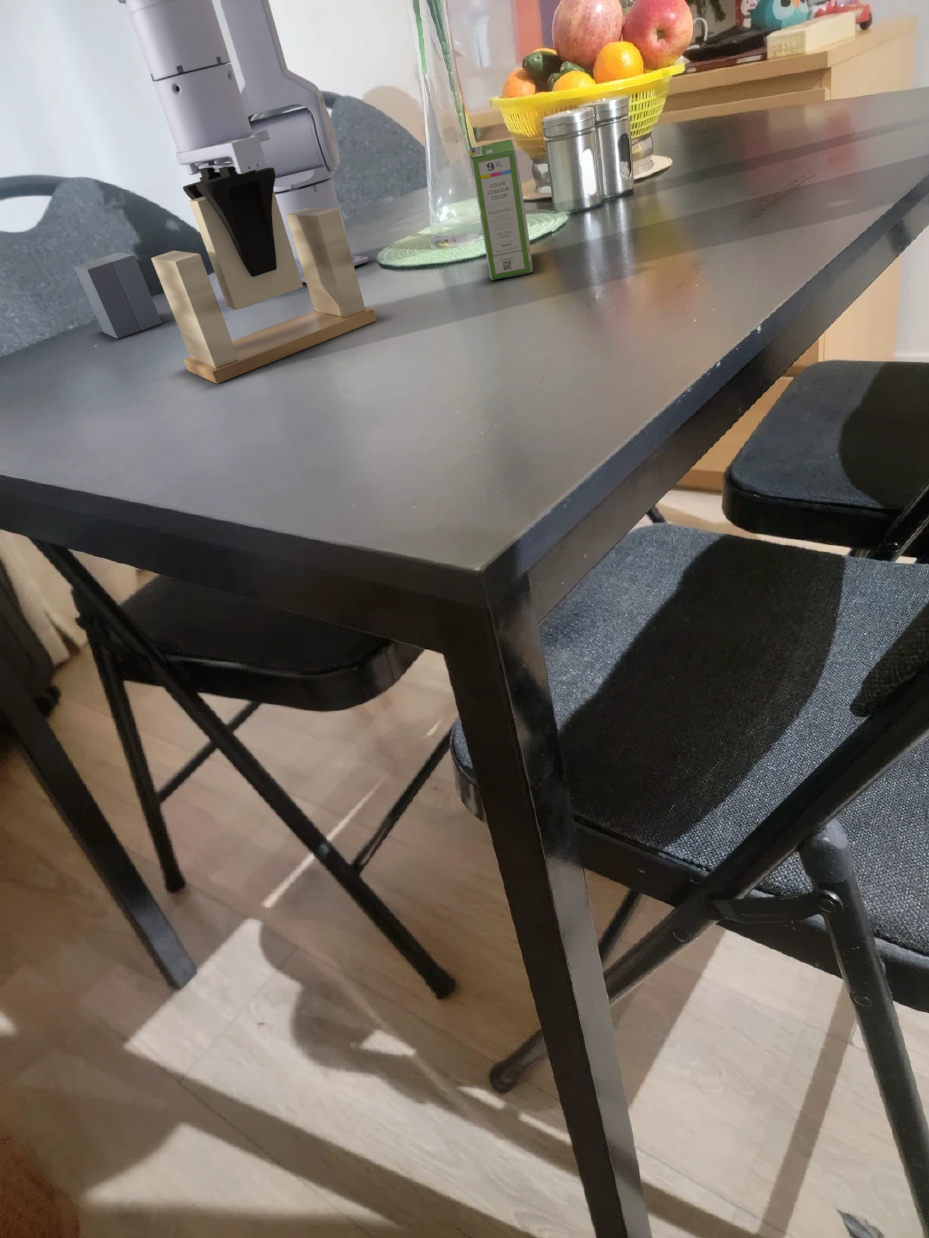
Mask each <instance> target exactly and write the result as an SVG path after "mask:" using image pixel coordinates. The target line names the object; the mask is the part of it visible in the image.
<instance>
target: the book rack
mask: <svg viewBox="0 0 929 1238" xmlns="http://www.w3.org/2000/svg"><path fill="white" fill-rule="evenodd" d="M286 217H287V220H288V223H289V227H290V230H291V233H292V237H293V240H294V243H295V247H296V250H297V253H298V257H299V260H300V263H301V266H302V270H303V273H304V276H305V280H306V283H305V284H306V286H307V290H308V292H309V296H310V300H311V304H312V306H313V309H314V310H311V311H309V312H305V313H303V314H300V315H298V316H294V317H292V318H290V319H287V320H285V321H281V322H280V323H279V322H278V323H277V324H273V325H272V326H268V327H266V328H263V329H261V330H258V331H256V332H252V333H251V334H247V335H245V336H243V337H240V338H237V339H234V340H232V338H231V337H232V336H231V335H230V332H229V330H228V327H227V323H226V322H225V318H224V316H223V313H222V311H221V307H220V305H219V302H218V299H217V297H216V294H215V291H214V288H213V286H212V283H211V280H210V277H209V275H208V272H207V269H206V266H205V264H204V261H203V258H202V256H201V255H202V254H201V253H196V252H188V251H181V250H180V251H179V250H171V251H168V252H166V253H162V254H159V255H156V256H153V257H151V258H150V259H151V262H152V265H153V267H154V269H155V272H156V275H157V277H158V279H159V282H160V284H161V287H162V289H163V292H164V294H165V297H166V299H167V302H168V304H169V308H170V309H171V312H172V314H173V317H174V319H175V322H176V325H177V327H178V329H179V332H180V334H181V337H182V340H183V342H184V345H185V348H186V350H187V352H188V354H189V357H187V358H184V359H183V363H184V364H185V366H186V369H187V371H188V372H190V373H191V374H192V373H193V375H196V376H199V377H201V378H204V379H206V380H208V381H210V382H212V383H214V384H217V385H218V384H221V383H223V382H226V381H229V380H231V379H233V378H236V377H239V376H241V375H243V374H246V373H248V372H251V371H254V370H256V369H258V368H262V367H264V366H266V365H269V364H271V363H273V362H274V363H275V362H276V361H278V360H281V359H284V358H286V357H289V356H291V355H294V354H296V353H299V352H301V351H304V350H306V349H310V348H311V347H314V346H317V345H319V344H322V343H324V342H326V341H329V340H333V339H334V338H337V337H339V336H341V335H344V334H347V333H350V332H352V331H354V330H357V329H359V328H361V327H364V326H367V325H369V324H371V323H375V322H377V316H376V313H375V310H374V308H369V307H365V302H364V299H363V295H362V292H361V288H360V287H361V286H360V284H359V280H358V277H357V273H356V269H355V266H354V265H353V261H352V257H351V254H350V250H349V246H348V242H347V239H346V235H345V231H344V227H343V224H342V220H341V216H340V212H339V209H338V208H305V209H302V210H299V211H296V212H293V213H289V214H287V215H286Z"/></svg>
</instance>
